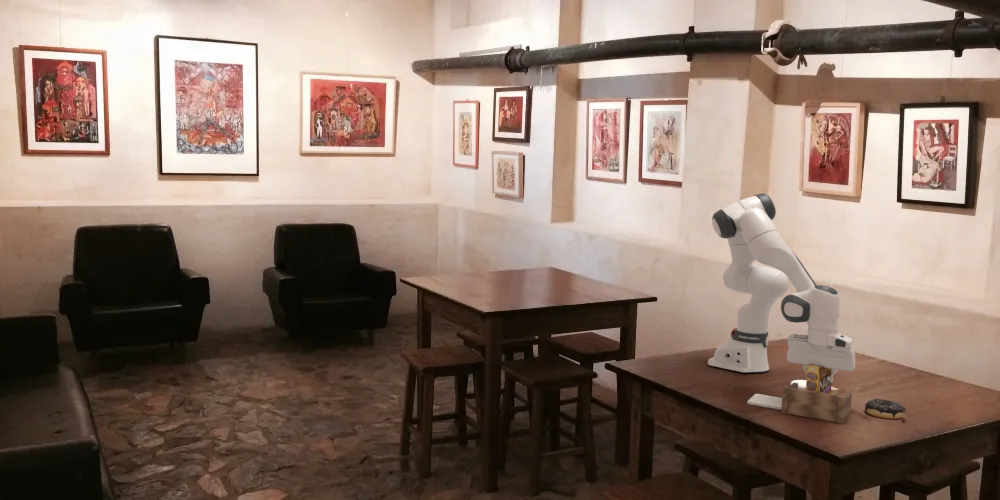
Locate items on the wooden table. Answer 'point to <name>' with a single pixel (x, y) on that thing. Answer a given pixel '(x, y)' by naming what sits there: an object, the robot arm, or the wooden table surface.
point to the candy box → (818, 379)
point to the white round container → (800, 384)
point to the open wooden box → (815, 404)
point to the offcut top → (834, 391)
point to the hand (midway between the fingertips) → (819, 380)
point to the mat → (766, 401)
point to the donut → (885, 409)
